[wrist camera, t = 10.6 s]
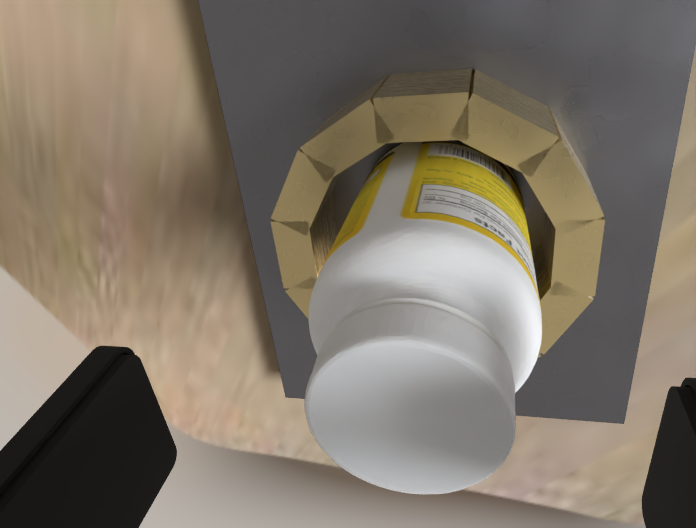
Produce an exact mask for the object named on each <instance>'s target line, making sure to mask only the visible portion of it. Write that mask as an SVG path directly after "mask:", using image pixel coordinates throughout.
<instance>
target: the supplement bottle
mask: <svg viewBox="0 0 696 528" xmlns="http://www.w3.org/2000/svg"><path fill="white" fill-rule="evenodd" d="M309 330H310V336H311V339H312V343H313V346H314V348H315V351H316V353H317V358H316V362H315V365H314V368H313V371H312V373H311V376H310V378H309V381H308V384H307V388H306V393H305V404H304V405H305V414H306V419H307V422H308V425H309V428H310V431H311V433H312V435H313V436H314V438H315V440H316V442H317V443H318V444H319V446H320V447H321V448H322V449H323V450H324V452H325V453H326V454H327V455H328V456H329V457H330V458H331V459H332V460H333V461H334V462H335V463H337V464H338V465H339V466H340V467H342V468H343V469H345V470H346V471H348V472H349V473H351V474H353V475H354V476H356V477H358V478H360V479H362V480H364V481H366V482H369V483H371V484H374V485H376V486H379V487H382V488H386V489H389V490H393V491H399V492H403V493H412V494H442V493H449V492H454V491H458V490H462V489H464V488H467V487H470V486H472V485H475V484H477V483H479V482H481V481H483V480H485V479H486V478H487V477H489V476H490V475H491V474H493V473H494V472H495V471H496V470H497V469H498V468H499V467H500V466H501V465H502V464H503V463H504V461H505V460H506V458H507V456H508V455H509V453H510V450H511V448H512V445H513V443H514V438H515V429H516V415H515V393H516V392H517V391H518V390H519V389H520V388H521V386H522V385H523V384H524V383H525V381H526V380H527V378H528V377H529V375H530V373H531V371H532V369H533V367H534V365H535V363H536V361H537V358H538V354H539V350H540V346H541V340H542V314H541V306H540V299H539V293H538V288H537V281H536V275H535V269H534V263H533V257H532V251H531V245H530V239H529V233H528V227H527V220H526V214H525V208H524V203H523V199H522V195H521V192H520V189H519V187H518V184H517V182H516V180H515V178H514V176H513V174H512V172H511V171H510V169H509V168H508V167H507V165H506V164H504V163H502V162H500V161H498V160H496V159H494V158H492V157H490V156H488V155H486V154H485V153H483V152H481V151H479V150H477V149H475V148H473V147H471V146H469V145H467V144H465V143H463V142H461V141H459V140H448V141H424V142H405V143H402V144H400V145H399V146H397V147H395V148H394V149H392V150H391V151H389V152H388V153H387V154H386V155H384V156H383V157H382V158H381V159H380V160H379V161H378V162H377V163H376V165H375V166H374V167H373V169H372V170H371V171H370V173H369V175H368V176H367V178H366V179H365V181H364V183H363V185H362V187H361V189H360V191H359V193H358V195H357V198H356V200H355V201H354V203H353V205H352V207H351V209H350V212H349V214H348V216H347V218H346V220H345V222H344V224H343V226H342V228H341V230H340V232H339V234H338V236H337V238H336V240H335V242H334V244H333V246H332V248H331V250H330V252H329V254H328V255H327V258H326V260H325V262H324V264H323V266H322V268H321V270H320V272H319V275H318V277H317V280H316V282H315V285H314V288H313V291H312V294H311V299H310V304H309Z"/></svg>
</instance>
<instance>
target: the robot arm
mask: <svg viewBox="0 0 696 528" xmlns="http://www.w3.org/2000/svg"><path fill="white" fill-rule="evenodd" d="M176 456H177V450H176V446H175V444H174V441H173V438H172V436H171V434H170V431H169V428H168V426H167V424H166V421H165V419H164V416H163V414H162V411H161V409H160V406H159V404H158V401H157V399H156V396H155V394H154V391H153V389H152V386H151V384H150V381H149V379H148V376H147V374H146V371H145V369H144V367H143V364H142V362H141V360H140V358H139V357H138V356H137V355H135V354H134V352H133V351H132V350H131V349H130V348H128V347H115V346H99V347H96V348H95V349H94V350H93V351H92V352H91V353H90V354H89V355H88V356H87V357H86V358H85V359H84V360H83V362H82V363H81V364H80V365H79V366H78V367H77V368H76V369H75V370H74V371H73V372H72V374H71V375H70V376H69V377H68V378H67V379H66V380H65V381H64V382H63V383H62V384H61V386H60V387H59V388H58V389H57V390H56V391H55V392H54V393H53V394H52V395H51V396H50V397H49V399H48V400H47V401H46V402H45V403H44V404H43V405H42V406H41V407H40V408H39V410H37V412H36V413H35V414H34V415H33V416H32V417H31V418H30V419H29V420H28V421H27V422H26V424H25V425H24V426H23V427H22V428H21V429H20V430H19V431H18V432H17V434H16V435H15V436H14V437H13V438H12V439H11V440H10V441H9V442H8V443H7V444H6V445H5V446H4V447H3V449H2V450H1V451H0V528H139V526H140V524H141V522H142V521H143V518H144V517H145V515H146V514H147V512H148V510H149V508H150V507H151V505H152V503H153V501H154V500H155V498H156V496H157V494H158V493H159V491H160V489H161V487H162V485H163V484H164V482H165V480H166V479H167V477H168V475H169V473H170V472H171V470H172V468H173V466H174V464H175V461H176ZM642 511H643V518H644V522H645V526H646V528H696V378H685V379H684V380H683V382H682V385H681V387H675V386H672V387H671V388H670V389H669V391H668V395H667V399H666V403H665V407H664V411H663V415H662V419H661V423H660V427H659V431H658V435H657V439H656V443H655V447H654V451H653V455H652V459H651V463H650V467H649V471H648V475H647V479H646V483H645V487H644V491H643V495H642Z"/></svg>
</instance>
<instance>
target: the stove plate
mask: <svg viewBox="0 0 696 528" xmlns="http://www.w3.org/2000/svg"><path fill="white" fill-rule="evenodd" d="M198 2H199V7H200V11H201V16H202V20H203V25H204V29H205V34H206V38H207V43H208V47H209V52H210V57H211V61H212V66H213V70H214V75H215V79H216V84H217V88H218V93H219V97H220V102H221V106H222V111H223V115H224V120H225V125H226V129H227V134H228V138H229V143H230V147H231V152H232V156H233V161H234V165H235V170H236V174H237V179H238V183H239V188H240V193H241V197H242V202H243V206H244V211H245V215H246V220H247V224H248V229H249V233H250V238H251V242H252V247H253V251H254V256H255V261H256V265H257V270H258V274H259V279H260V283H261V288H262V292H263V297H264V301H265V306H266V310H267V315H268V319H269V324H270V329H271V333H272V338H273V342H274V347H275V351H276V356H277V360H278V365H279V369H280V374H281V378H282V383H283V387H284V392H285V397H288V398H301V399H305V393H306V388H307V384H308V381H309V378H310V376H311V373H312V371H313V368H314V365H315V362H316V358H317V353H316V351H315V348H314V346H313V343H312V339H311V336H310V330H309V304H310V299H311V294H312V291H313V288H314V285H315V282H316V280H317V277H318V275H319V272H320V270H321V268H322V266H323V264H324V262H325V260H326V258H327V255H328V254H329V252H330V250H331V248H332V246H333V244H334V242H335V240H336V238H337V236H338V234H339V232H340V230H341V228H342V226H343V224H344V222H345V220H346V218H347V216H348V214H349V212H350V209H351V207H352V205H353V203H354V201H355V200H356V198H357V195H358V193H359V191H360V189H361V187H362V185H363V183H364V181H365V179H366V178H367V176H368V175H369V173H370V171H371V170H372V169H373V167H374V166H375V165H376V163H377V162H378V161H379V160H380V159H381V158H382V157H383V156H384V155H386V154H387V153H388V152H389V151H391V150H392V149H394V148H395V147H397V146H399V145H400V144H402V143H405V142H424V141H448V140H459V141H461V142H463V143H465V144H467V145H469V146H471V147H473V148H475V149H477V150H479V151H481V152H483V153H485V154H486V155H488V156H490V157H492V158H494V159H496V160H498V161H500V162H502V163H504V164H506V165H507V167H508V168H509V169H510V171H511V172H512V174H513V176H514V178H515V180H516V182H517V184H518V187H519V189H520V192H521V195H522V199H523V203H524V208H525V214H526V220H527V227H528V233H529V239H530V245H531V251H532V257H533V263H534V269H535V275H536V281H537V288H538V293H539V299H540V306H541V314H542V340H541V346H540V350H539V354H538V358H537V361H536V363H535V365H534V367H533V369H532V371H531V373H530V375H529V377H528V378H527V380H526V381H525V383H524V384H523V385H522V386H521V388H520V389H519V390H518V391H517V392H516V393H515V415H518V416H531V417H543V418H556V419H569V420H582V421H594V422H607V423H620V424H624V421H625V416H626V411H627V405H628V400H629V395H630V389H631V384H632V379H633V374H634V368H635V363H636V358H637V352H638V347H639V342H640V336H641V331H642V326H643V321H644V315H645V310H646V305H647V299H648V294H649V289H650V283H651V278H652V273H653V268H654V262H655V257H656V252H657V246H658V241H659V236H660V230H661V225H662V220H663V215H664V209H665V204H666V199H667V193H668V188H669V183H670V178H671V172H672V167H673V162H674V156H675V151H676V146H677V140H678V135H679V130H680V125H681V119H682V114H683V109H684V103H685V98H686V93H687V87H688V82H689V77H690V72H691V66H692V61H693V56H694V50H695V45H696V0H198Z"/></svg>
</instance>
